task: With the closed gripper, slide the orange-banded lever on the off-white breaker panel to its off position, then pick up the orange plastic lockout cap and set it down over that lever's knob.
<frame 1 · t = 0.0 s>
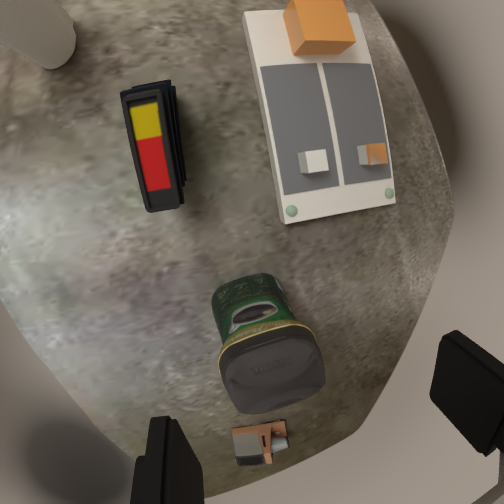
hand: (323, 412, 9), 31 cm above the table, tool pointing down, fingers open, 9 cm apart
lockout cap: (311, 33, 31), point 2 cm above the table, touching breaker panel
electronic device: (258, 429, 49), on the table
breaker panel: (320, 106, 36), on the table
coffee jar: (248, 301, 42), on the table
paper towel roll: (61, 48, 29), on the table
magazine: (168, 146, 35), on the table
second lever: (312, 161, 33), point 4 cm above the table, slide at 0.0 cm
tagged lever: (372, 154, 34), point 4 cm above the table, slide at 0.0 cm
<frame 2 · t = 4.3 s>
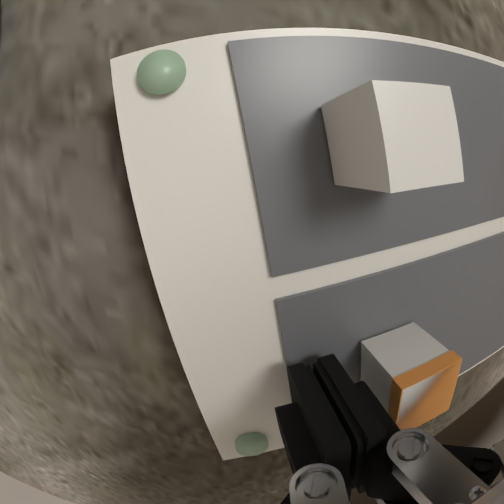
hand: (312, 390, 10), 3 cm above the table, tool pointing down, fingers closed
breaker panel: (459, 216, 13), on the table
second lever: (390, 137, 7), point 4 cm above the table, slide at 0.0 cm
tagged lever: (406, 377, 9), point 4 cm above the table, slide at 0.5 cm, touching gripper
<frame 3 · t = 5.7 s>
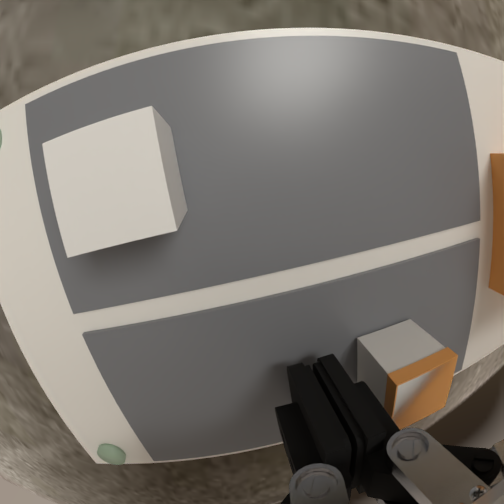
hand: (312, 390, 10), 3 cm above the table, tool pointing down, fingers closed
breaker panel: (347, 240, 12), on the table
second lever: (123, 180, 7), point 4 cm above the table, slide at 0.0 cm
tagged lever: (402, 373, 9), point 4 cm above the table, slide at 7.1 cm, touching gripper
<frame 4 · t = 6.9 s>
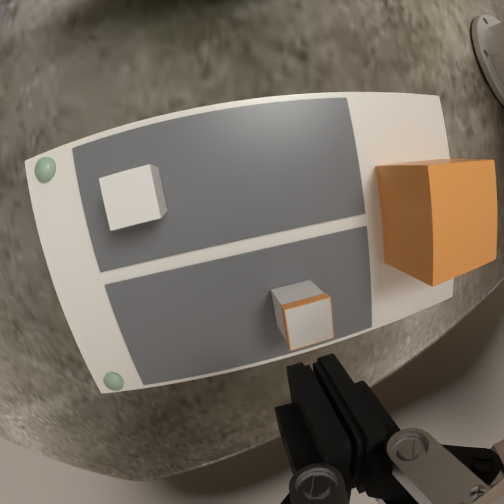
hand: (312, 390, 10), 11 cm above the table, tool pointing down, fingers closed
lockout cap: (417, 208, 19), point 2 cm above the table, touching breaker panel
breaker panel: (270, 230, 20), on the table
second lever: (135, 196, 14), point 4 cm above the table, slide at 0.0 cm
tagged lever: (301, 312, 17), point 4 cm above the table, slide at 7.1 cm
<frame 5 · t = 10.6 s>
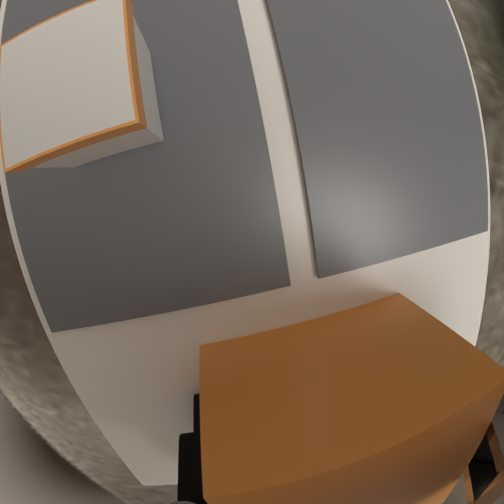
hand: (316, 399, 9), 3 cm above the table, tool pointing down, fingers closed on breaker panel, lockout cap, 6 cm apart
lockout cap: (315, 397, 10), point 3 cm above the table, touching breaker panel, gripper
breaker panel: (253, 98, 9), on the table
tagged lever: (87, 94, 5), point 4 cm above the table, slide at 7.1 cm
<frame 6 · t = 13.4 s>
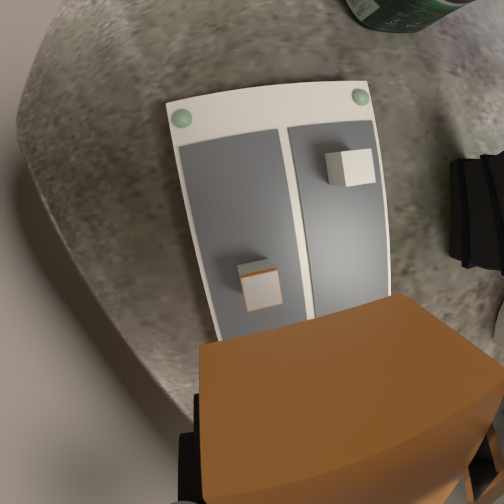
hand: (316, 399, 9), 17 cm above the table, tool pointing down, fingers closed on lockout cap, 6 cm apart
lockout cap: (315, 397, 10), point 17 cm above the table, touching gripper
breaker panel: (295, 255, 26), on the table
coffee jar: (378, 5, 21), on the table
paper towel roll: (503, 312, 34), on the table
magazine: (457, 199, 28), on the table
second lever: (349, 167, 21), point 4 cm above the table, slide at 0.0 cm
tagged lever: (258, 283, 22), point 4 cm above the table, slide at 7.1 cm
when the fingers open (4 cm above the table, at t = 16.2 s): lockout cap drops 1 cm, resting on breaker panel.
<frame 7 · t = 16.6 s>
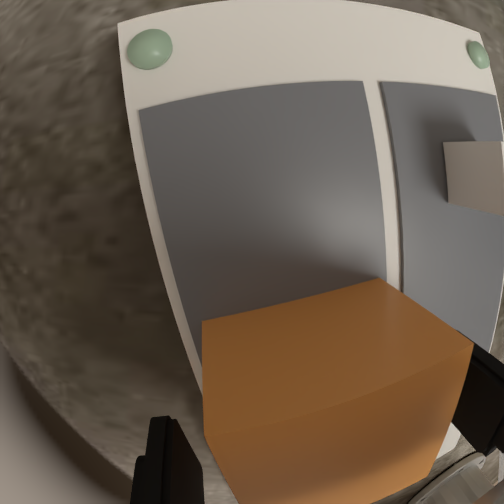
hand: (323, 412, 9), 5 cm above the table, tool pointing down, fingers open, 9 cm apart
lockout cap: (305, 372, 11), point 3 cm above the table, touching breaker panel
breaker panel: (365, 323, 14), on the table
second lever: (491, 173, 8), point 4 cm above the table, slide at 0.0 cm
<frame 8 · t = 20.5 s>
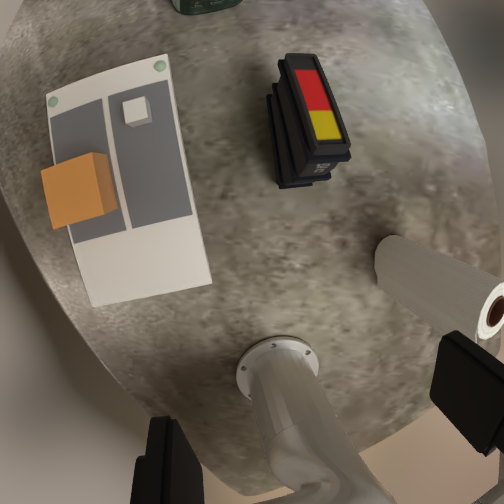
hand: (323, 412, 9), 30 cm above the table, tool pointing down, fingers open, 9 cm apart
lockout cap: (87, 188, 31), point 3 cm above the table, touching breaker panel
breaker panel: (124, 182, 34), on the table
paper towel roll: (386, 256, 42), on the table
magazine: (282, 132, 36), on the table
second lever: (137, 112, 28), point 4 cm above the table, slide at 0.0 cm
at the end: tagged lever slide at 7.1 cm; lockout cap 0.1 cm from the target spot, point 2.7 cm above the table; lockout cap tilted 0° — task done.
